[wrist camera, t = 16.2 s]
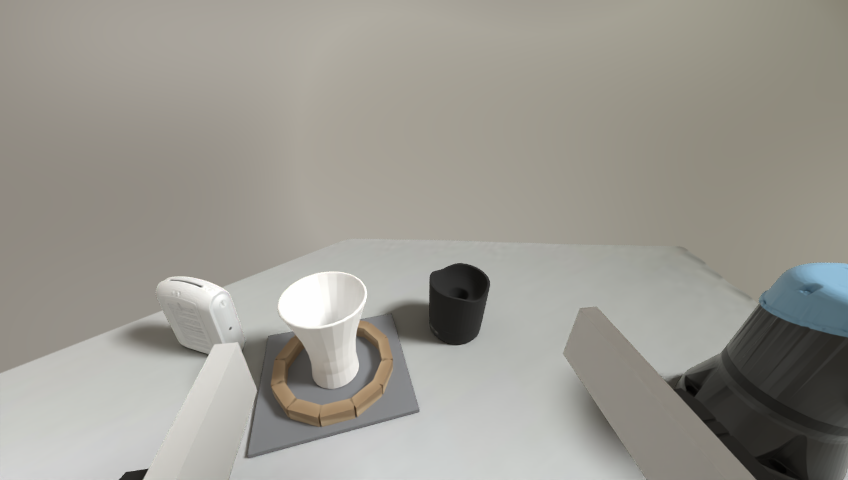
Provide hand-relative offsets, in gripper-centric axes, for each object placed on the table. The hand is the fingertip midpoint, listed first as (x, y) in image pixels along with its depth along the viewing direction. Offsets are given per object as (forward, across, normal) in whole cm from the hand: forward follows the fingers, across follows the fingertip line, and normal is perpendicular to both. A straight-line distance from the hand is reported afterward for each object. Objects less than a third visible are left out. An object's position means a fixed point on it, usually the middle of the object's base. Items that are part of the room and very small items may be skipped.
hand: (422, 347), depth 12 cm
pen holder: (+29, +11, -30) cm, 43 cm away
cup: (+22, -8, -29) cm, 38 cm away
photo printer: (+30, -28, -30) cm, 51 cm away
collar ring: (+22, -8, -30) cm, 38 cm away
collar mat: (+22, -8, -30) cm, 38 cm away
